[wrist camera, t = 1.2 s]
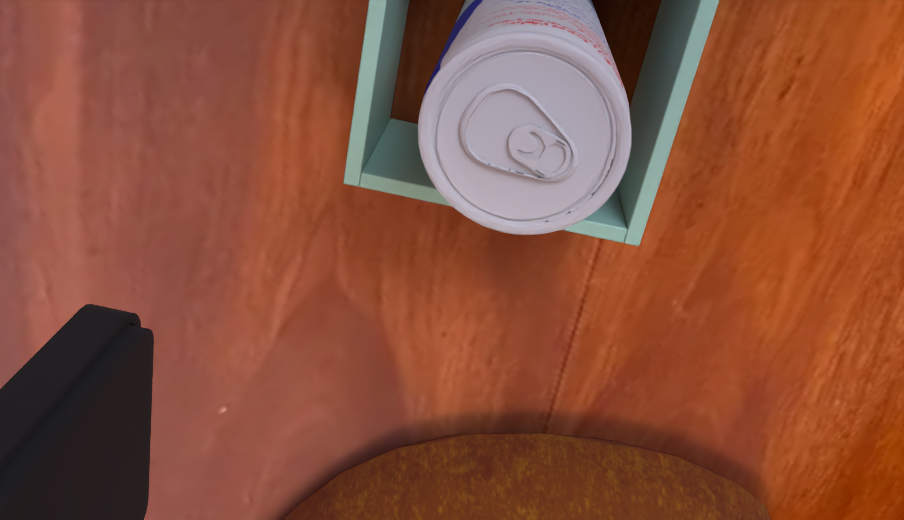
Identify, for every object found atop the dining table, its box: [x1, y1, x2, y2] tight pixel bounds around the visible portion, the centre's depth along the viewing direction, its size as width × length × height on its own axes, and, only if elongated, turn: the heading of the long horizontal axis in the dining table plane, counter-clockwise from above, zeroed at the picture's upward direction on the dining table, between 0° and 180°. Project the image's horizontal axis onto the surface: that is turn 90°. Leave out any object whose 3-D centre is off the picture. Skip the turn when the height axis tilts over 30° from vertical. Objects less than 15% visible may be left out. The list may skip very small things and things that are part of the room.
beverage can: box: [418, 0, 631, 235], centre depth 28 cm, size 6×6×15 cm
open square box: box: [343, 0, 719, 246], centre depth 32 cm, size 11×11×7 cm
